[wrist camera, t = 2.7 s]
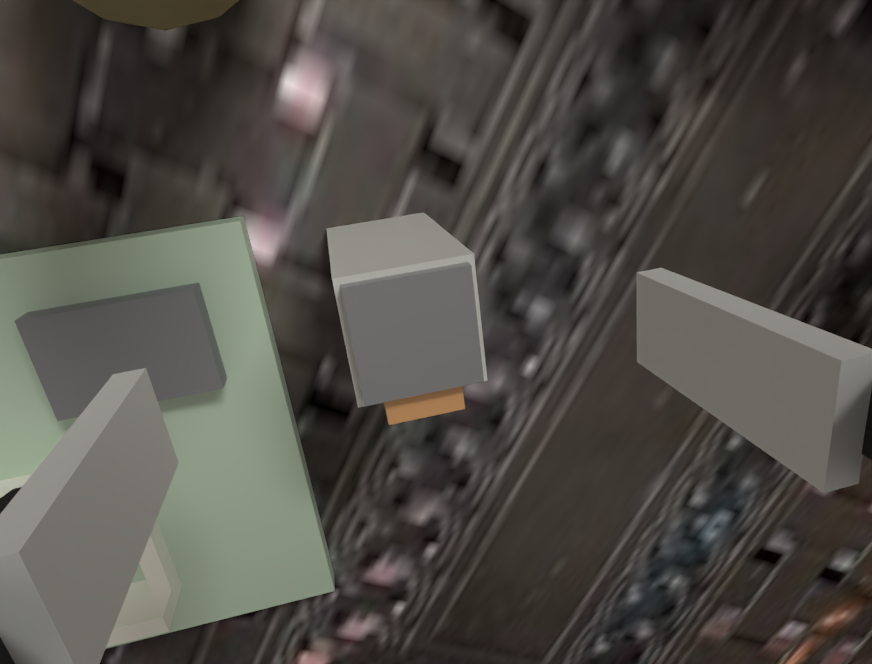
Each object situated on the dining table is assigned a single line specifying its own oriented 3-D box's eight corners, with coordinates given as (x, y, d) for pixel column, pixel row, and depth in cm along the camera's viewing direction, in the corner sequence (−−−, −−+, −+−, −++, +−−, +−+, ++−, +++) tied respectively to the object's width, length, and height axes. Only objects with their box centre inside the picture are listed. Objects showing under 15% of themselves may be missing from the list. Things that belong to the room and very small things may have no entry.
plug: (326, 228, 23) (332, 282, 15) (423, 212, 23) (477, 256, 16) (348, 338, 25) (363, 437, 17) (438, 321, 25) (493, 409, 17)
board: (-225, 290, 20) (-356, 331, 16) (243, 215, 22) (228, 235, 18) (-10, 658, 26) (-66, 750, 23) (333, 572, 29) (337, 643, 25)
